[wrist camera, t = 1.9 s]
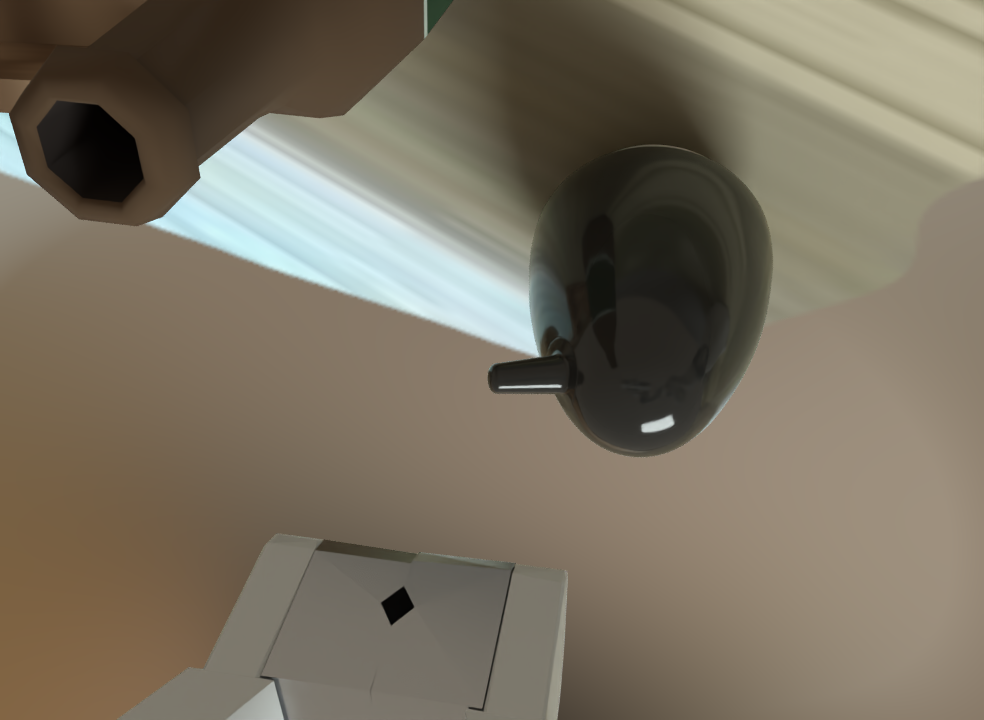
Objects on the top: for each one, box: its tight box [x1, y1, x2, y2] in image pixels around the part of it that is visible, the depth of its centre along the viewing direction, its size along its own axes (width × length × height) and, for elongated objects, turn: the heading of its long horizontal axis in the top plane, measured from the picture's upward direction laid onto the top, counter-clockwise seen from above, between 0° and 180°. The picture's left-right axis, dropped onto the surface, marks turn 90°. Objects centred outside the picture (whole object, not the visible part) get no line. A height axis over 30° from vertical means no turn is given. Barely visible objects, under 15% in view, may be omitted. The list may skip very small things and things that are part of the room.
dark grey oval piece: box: [488, 145, 773, 457], centre depth 37 cm, size 10×10×15 cm
